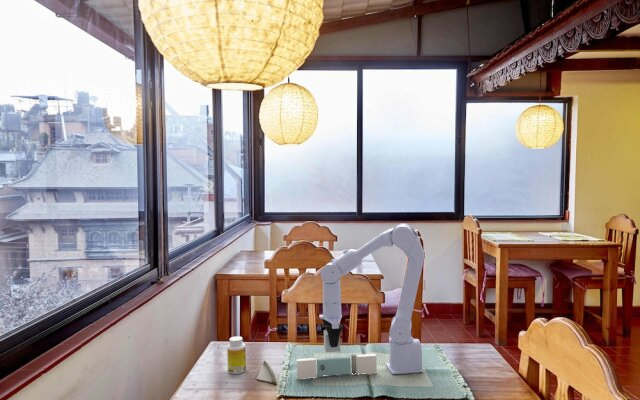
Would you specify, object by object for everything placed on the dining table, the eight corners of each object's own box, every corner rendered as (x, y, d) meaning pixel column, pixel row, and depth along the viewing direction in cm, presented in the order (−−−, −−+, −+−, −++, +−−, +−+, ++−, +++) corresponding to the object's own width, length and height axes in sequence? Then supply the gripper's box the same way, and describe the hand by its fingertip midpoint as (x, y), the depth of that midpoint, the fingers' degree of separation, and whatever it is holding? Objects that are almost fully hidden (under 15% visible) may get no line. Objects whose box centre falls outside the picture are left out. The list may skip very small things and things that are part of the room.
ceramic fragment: (278, 386, 134) (277, 372, 134) (260, 389, 133) (259, 375, 132) (267, 368, 147) (266, 356, 147) (250, 370, 146) (250, 358, 146)
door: (350, 372, 140) (349, 356, 140) (351, 375, 138) (351, 359, 138) (317, 375, 139) (316, 358, 139) (318, 378, 137) (317, 361, 137)
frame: (375, 371, 142) (375, 352, 141) (376, 373, 140) (376, 354, 140) (297, 377, 139) (296, 358, 139) (297, 379, 137) (296, 360, 137)
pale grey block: (338, 346, 150) (337, 329, 150) (340, 351, 146) (339, 334, 145) (324, 347, 150) (323, 330, 149) (325, 352, 145) (325, 334, 145)
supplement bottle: (247, 373, 143) (246, 340, 142) (229, 376, 141) (228, 342, 140) (244, 366, 148) (243, 334, 147) (226, 369, 146) (225, 336, 146)
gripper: (316, 295, 153) (317, 336, 154) (322, 308, 139) (322, 353, 140) (338, 294, 154) (338, 335, 155) (345, 307, 140) (346, 351, 141)
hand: (332, 343), depth 148 cm, fingers closed on pale grey block, 4 cm apart
